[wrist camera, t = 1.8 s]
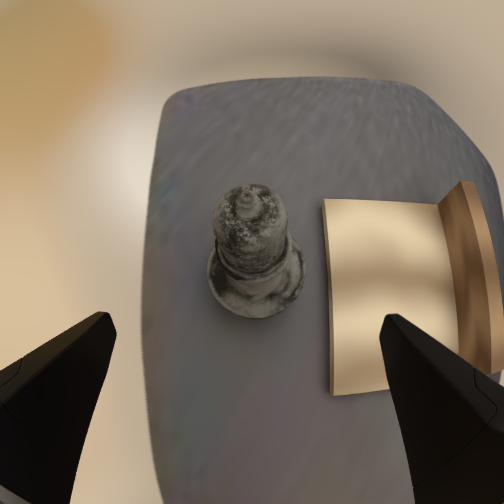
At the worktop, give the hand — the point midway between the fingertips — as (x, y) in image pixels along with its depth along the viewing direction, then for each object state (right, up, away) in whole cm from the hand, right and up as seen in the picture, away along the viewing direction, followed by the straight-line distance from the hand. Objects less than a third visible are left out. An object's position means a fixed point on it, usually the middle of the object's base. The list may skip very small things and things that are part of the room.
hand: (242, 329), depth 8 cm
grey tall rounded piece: (+1, 0, +12) cm, 12 cm away
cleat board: (+12, -1, +11) cm, 16 cm away
